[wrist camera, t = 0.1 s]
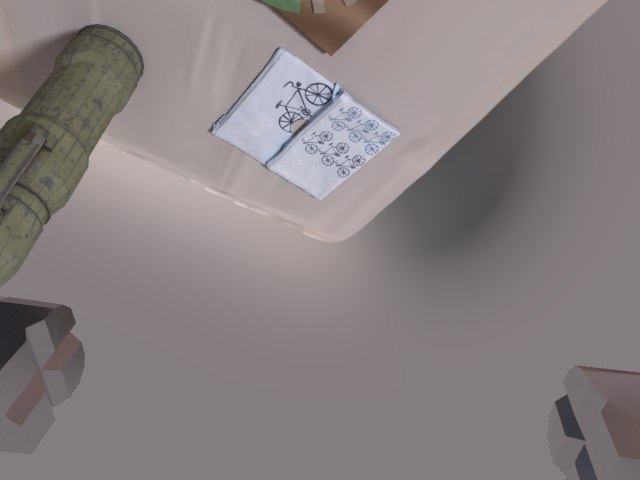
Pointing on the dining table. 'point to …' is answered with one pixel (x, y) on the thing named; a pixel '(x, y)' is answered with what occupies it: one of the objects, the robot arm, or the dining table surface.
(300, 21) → the dial board
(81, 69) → the thermos
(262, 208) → the dining table surface
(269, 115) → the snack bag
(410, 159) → the dining table surface
